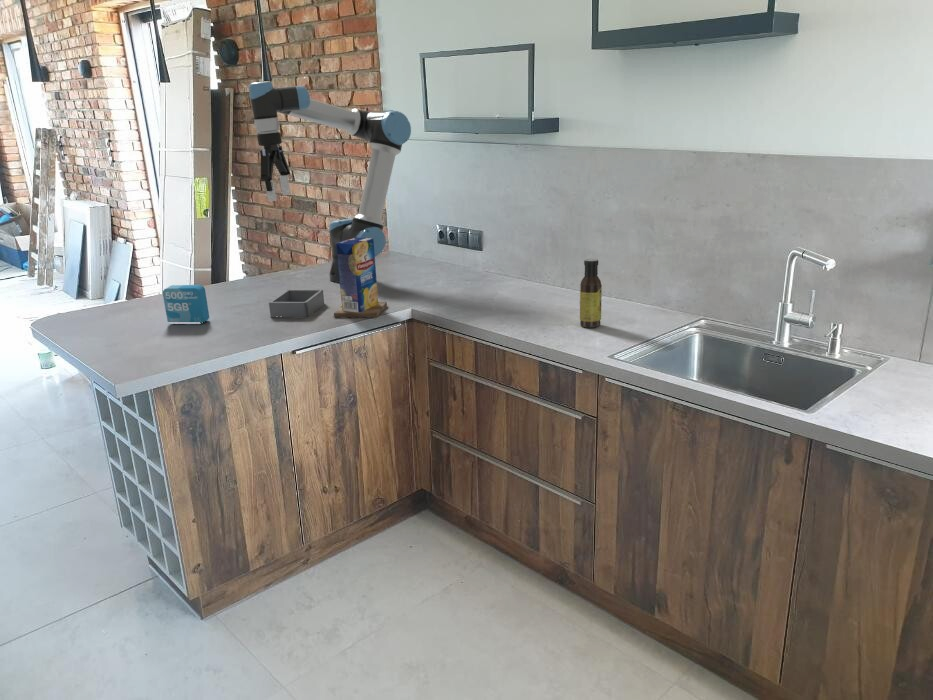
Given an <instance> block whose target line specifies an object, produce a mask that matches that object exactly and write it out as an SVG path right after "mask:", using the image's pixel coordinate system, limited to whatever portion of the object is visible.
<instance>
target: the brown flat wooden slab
mask: <svg viewBox="0 0 933 700" xmlns="http://www.w3.org/2000/svg"><path fill="white" fill-rule="evenodd" d="M387 305H388V302H387V301H378V304H377V305H375V306H373V307H371V308H369V309H367V310H364V311H362V312H360V313H359V312H350V311H342V305H341V306H340V307H339V308H337V310H335V311H334V312H333V317H375V318H374V319H377V318H378V317H379V316H380V315H379V314H382V312H383V311H384V310H385V309H386V308H385V307H386V306H387ZM387 307H388V306H387ZM378 315H379V316H378ZM377 316H378V317H377Z"/></svg>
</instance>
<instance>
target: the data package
mask: <svg viewBox="0 0 933 700" xmlns="http://www.w3.org/2000/svg"><path fill="white" fill-rule="evenodd" d="M162 297H163V298H162V299H163V303H164V309H165V314H166V319H167V323H168V322H200V323H202V322H204V323H206V322H207V321H208V320H209V319H210V312H209V305H208V301H207V293H206V289H205V287H204V286H203V285H202V284H175V285H174V284H173V285H172V284H171V285H169V286H168V287H166V288H164V289H163V290H162ZM206 320H207V321H206ZM205 321H206V322H205Z"/></svg>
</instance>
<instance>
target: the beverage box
mask: <svg viewBox="0 0 933 700" xmlns="http://www.w3.org/2000/svg"><path fill="white" fill-rule="evenodd" d="M336 248H337V259H338V269H339V280H340V282H339V289H340V299H341V300H340V301H341V306H342V311H350V312H359V313H360V312H362V311H364V310H367V309H369V308H371V307H373V306H375V305H377V304H378V302H379V297H378V296H379V295H378V282H377V271H376V269H377V268H376V257H375V253H374V240H373V238H359V237H355V238H352V239H349V240H345V241H342V242H339V243H336Z"/></svg>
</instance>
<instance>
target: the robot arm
mask: <svg viewBox="0 0 933 700" xmlns="http://www.w3.org/2000/svg"><path fill="white" fill-rule="evenodd" d="M248 94H249V100H250V105H251V108H252V109H251V111H252V116H253V120H254V123H253V126H254V127H255V131H256V133H258V134H256V137H257V143H258V146H259V147H263V149H260V150H259V152H260V181H261V182H264V185H265V190H266V191H265V192H266V196H267V202H276V201H277V195H276V194H277V193H276V188H275V183H274V180H273V172H274V166H275V167H276V169H277V172H278V173H279V182H280V188H281V193H282V196H289V195H291V194H292V193H291V188H290V187H291V186H290V182H289V176H290V175H291V172H290V168H289V165H288V163H287V160H286V156H285V154H284V151H283V147H282V145H281V144H282V133H280V132H279V131H280V124H279V118H278V117H279V116H278V113H279V114H284V115H287V116H290V117H294V118H298V119H302V120H305V121H309V122H312V123H315V124H320V125H323V126H327V127H329V128H330V127H331V128H334V129H338V130H341V131H344V132H345V131H346V132H347V134H348V135H350V136H353V137H356V138H359V139H361V140H364V141H368V142H369V146H370V147H371V149H372V151H371V154H370V159H369V165H368V168H367V173H366V178H365V182H364V187H363V192H362V195H361V198H360V199H361V200H360V205H359V209H358V213H357V214H356V215H354V216H353V217H352V218H346V219H339V220H333V221H331V222H330V223H329V224H328V225H329V226H328V227H329V231H328V233H329V240H330V249H331V264H330V270H329V273H328V276H329V281H331V282H335V283H340V280H339V269H338V259H337V248H336V243H339V242H342V241H345V240H349V239H352V238H355V237H359V238H373V240H374V253H375V258H376V257H377V256H379V255H380V254H381V253H382V252H383V251H384V250H385V247H386V243H387V239H386V238H387V237H386V236H385V233H384V227H385V225H384V223H383V221H382V216H383V211H384V207H385V203H386V200H387V194H388V190H389V185H390V181H391V177H392V172H393V168H394V164H395V159H396V156H397V155H399V154H400V153H401V151H402V148H403V145H404V144H405V143H407V142H408V141H409V139H410V137H411V134H412V126H411V123H410V121H409V119H408V117H407V115H405V114H404V113H403V112H401V111H398V110H393V109H389V110H362V109H361V110H360V109H357V108H353V109H346V108H343V107H340V106H337V105H333V104H329V103H326V102H323V101H320V100H317V99H312V98H311V96H310V95H311V94H310V92H309V91H308V89H307V87H305V86H304V85H300V86H299V85H293V86H283V87H274V86H273V83H272V82H271V81H259V82H251V83H250V84H249V85H248Z"/></svg>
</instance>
